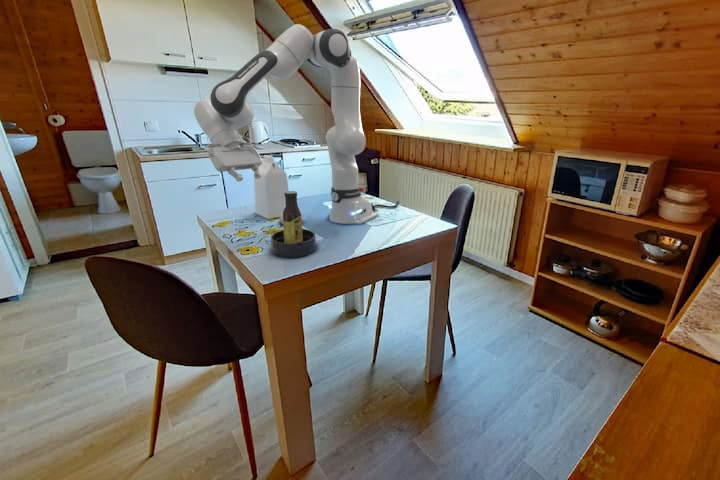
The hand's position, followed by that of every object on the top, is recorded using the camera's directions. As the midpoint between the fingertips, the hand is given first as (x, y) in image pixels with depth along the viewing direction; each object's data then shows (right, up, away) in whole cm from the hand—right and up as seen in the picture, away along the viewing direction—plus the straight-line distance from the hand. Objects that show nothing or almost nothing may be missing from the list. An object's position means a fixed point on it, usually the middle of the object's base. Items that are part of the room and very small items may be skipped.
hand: (250, 178), depth 117 cm
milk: (-2, -9, +42) cm, 43 cm away
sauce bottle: (+14, -24, +3) cm, 28 cm away
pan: (+14, -24, +3) cm, 28 cm away
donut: (+8, -14, +29) cm, 33 cm away
